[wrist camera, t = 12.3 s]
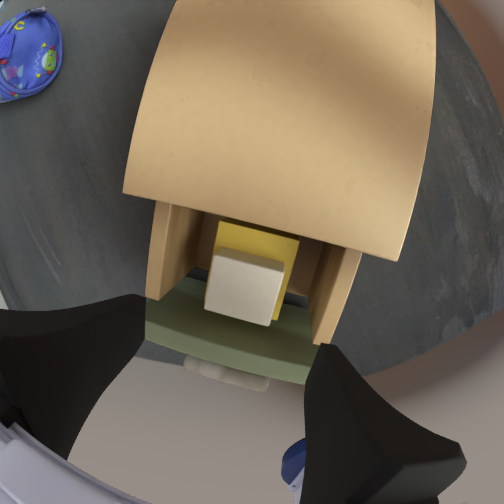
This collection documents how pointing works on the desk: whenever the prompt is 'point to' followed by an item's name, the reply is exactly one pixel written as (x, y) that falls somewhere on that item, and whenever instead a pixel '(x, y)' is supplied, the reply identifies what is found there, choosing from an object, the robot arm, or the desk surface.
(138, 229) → the desk surface
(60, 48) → the pencil case
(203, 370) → the drawer
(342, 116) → the cabinet
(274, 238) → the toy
